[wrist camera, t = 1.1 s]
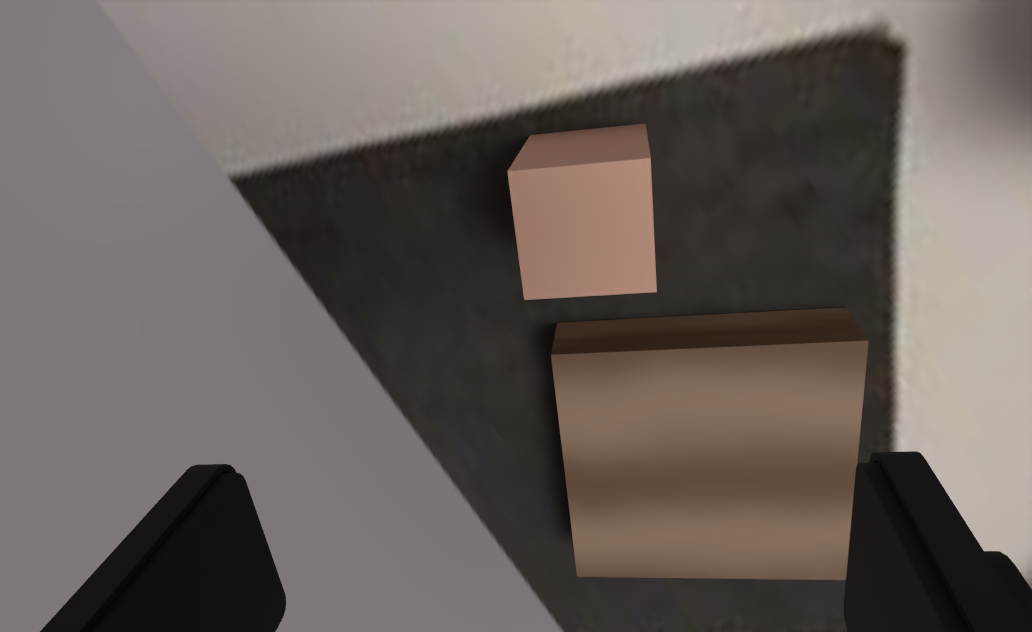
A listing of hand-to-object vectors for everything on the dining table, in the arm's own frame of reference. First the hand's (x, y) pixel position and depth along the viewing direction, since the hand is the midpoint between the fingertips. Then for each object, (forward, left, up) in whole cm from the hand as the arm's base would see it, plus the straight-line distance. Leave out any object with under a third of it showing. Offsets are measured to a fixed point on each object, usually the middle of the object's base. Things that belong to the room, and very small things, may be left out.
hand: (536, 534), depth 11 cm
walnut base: (+12, +4, -20) cm, 23 cm away
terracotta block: (0, 0, -20) cm, 20 cm away
